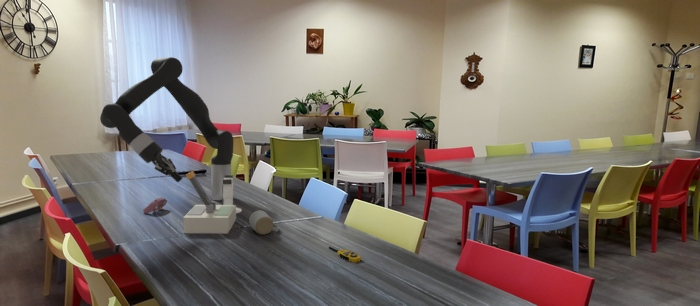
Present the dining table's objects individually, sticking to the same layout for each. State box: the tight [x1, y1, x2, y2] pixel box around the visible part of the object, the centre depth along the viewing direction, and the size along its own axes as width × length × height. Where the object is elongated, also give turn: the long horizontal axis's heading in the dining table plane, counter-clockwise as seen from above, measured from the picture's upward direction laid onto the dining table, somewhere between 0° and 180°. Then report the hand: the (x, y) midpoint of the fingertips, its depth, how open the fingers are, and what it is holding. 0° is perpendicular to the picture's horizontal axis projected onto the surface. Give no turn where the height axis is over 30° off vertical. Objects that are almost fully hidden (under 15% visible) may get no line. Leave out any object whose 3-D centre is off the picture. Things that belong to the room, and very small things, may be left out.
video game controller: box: [143, 197, 168, 215], centre depth 186 cm, size 10×5×7 cm, turn 169°
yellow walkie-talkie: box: [328, 246, 362, 263], centre depth 145 cm, size 5×2×15 cm
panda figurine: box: [221, 174, 242, 215], centre depth 190 cm, size 12×11×15 cm
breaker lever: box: [185, 170, 214, 208], centre depth 168 cm, size 2×4×17 cm, turn 5°
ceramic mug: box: [248, 209, 280, 236], centre depth 165 cm, size 11×8×8 cm
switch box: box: [182, 200, 237, 234], centre depth 169 cm, size 16×18×9 cm
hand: (180, 180), depth 166 cm, fingers closed
